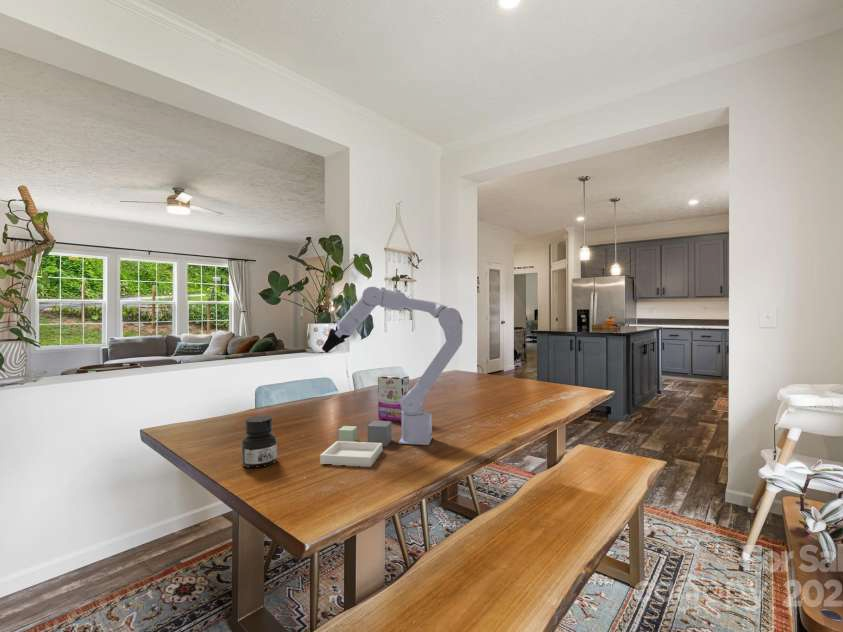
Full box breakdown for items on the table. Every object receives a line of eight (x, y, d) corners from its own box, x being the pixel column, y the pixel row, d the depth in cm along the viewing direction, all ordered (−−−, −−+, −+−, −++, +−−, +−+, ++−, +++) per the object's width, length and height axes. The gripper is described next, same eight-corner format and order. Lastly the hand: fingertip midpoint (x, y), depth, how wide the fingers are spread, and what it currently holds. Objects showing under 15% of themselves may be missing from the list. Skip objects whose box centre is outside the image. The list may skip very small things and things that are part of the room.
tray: (382, 451, 120) (382, 443, 120) (370, 467, 108) (370, 457, 108) (336, 449, 123) (336, 440, 123) (320, 464, 111) (320, 455, 111)
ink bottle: (244, 471, 106) (243, 425, 106) (236, 461, 113) (236, 418, 113) (282, 463, 112) (282, 419, 112) (273, 454, 119) (272, 412, 119)
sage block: (357, 440, 131) (357, 426, 131) (352, 445, 127) (352, 430, 127) (343, 439, 132) (343, 425, 132) (338, 444, 127) (338, 429, 127)
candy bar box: (410, 419, 155) (409, 376, 155) (403, 422, 151) (402, 378, 151) (385, 416, 160) (384, 374, 160) (377, 419, 156) (377, 376, 156)
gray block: (391, 440, 131) (391, 421, 131) (386, 446, 125) (386, 426, 125) (373, 439, 132) (373, 420, 132) (367, 445, 126) (367, 425, 126)
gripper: (349, 306, 139) (323, 335, 140) (340, 311, 125) (311, 344, 126) (365, 320, 139) (339, 349, 141) (358, 327, 125) (329, 359, 127)
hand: (327, 348), depth 134 cm, fingers open, 7 cm apart
